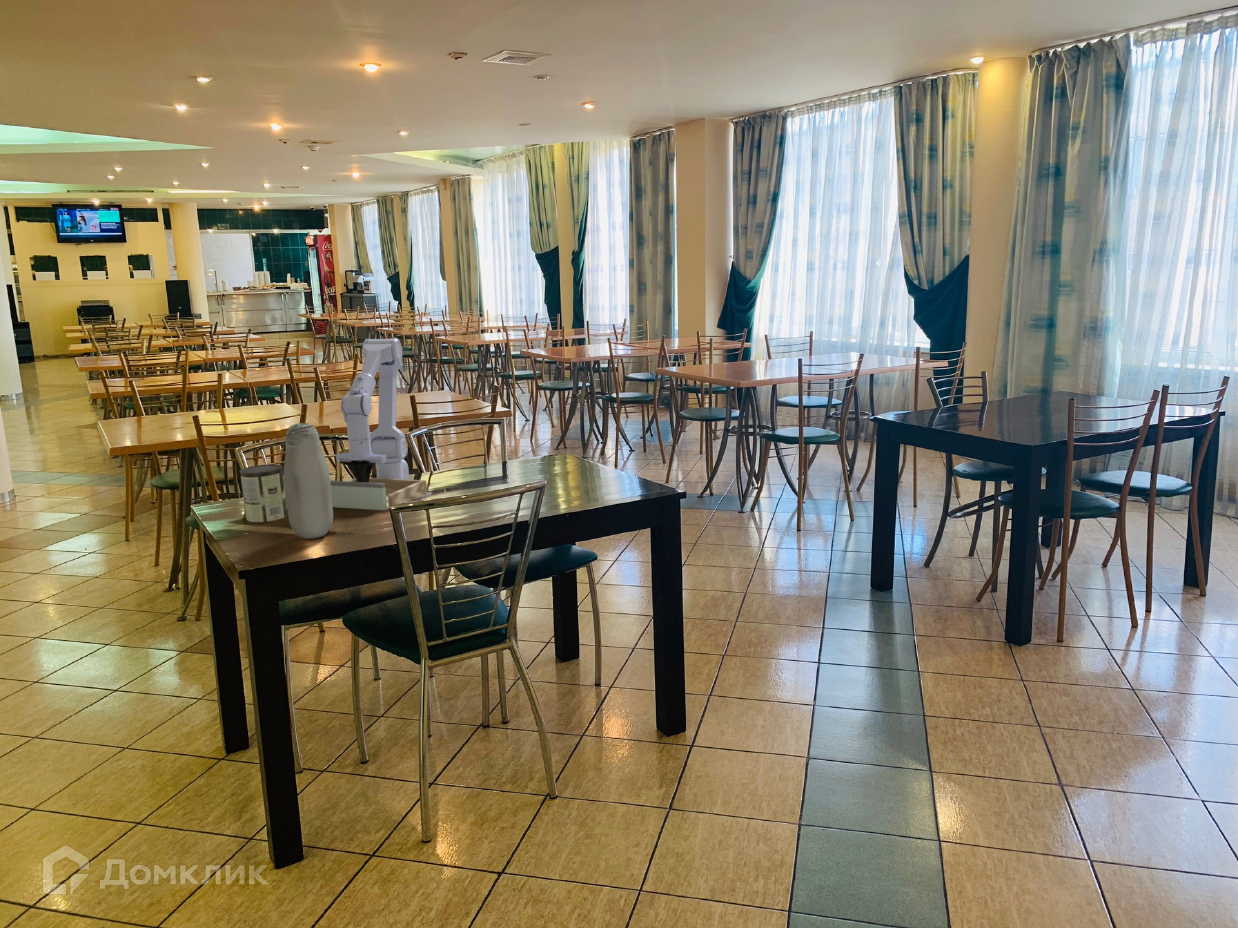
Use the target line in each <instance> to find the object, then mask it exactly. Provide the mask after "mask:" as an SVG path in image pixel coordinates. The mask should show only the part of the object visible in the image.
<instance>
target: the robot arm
mask: <svg viewBox="0 0 1238 928" xmlns="http://www.w3.org/2000/svg"><path fill="white" fill-rule="evenodd" d="M361 349H362V354H363V355H362V356H363V359H364V360H363V365H362V369H361V372H360V373H358V374H357V375H356V376H355V377H354V379H353V381H352V384H351V386H350V389H349V392H348V394H345V395H344V396H342V398H341V402H340V410H341V414H342V415H343V421H344V423H346V431H347V441H348V449H349V450H348V451H349V452H347V453H343V452H341V453H337V454H335V458H336V462H338V463H339V462H350V464H348V468H349V469H350V471H351V472H352V474H353V476H354V478H356V480H357V482H369V478H371V475H372V471H373V468H374V466H375V469H376V478H386V479H406V480H410V474H409V473H410V472H409V465H408V462H407V461H406V460H405V457H406V455H407V443H406V435H405V433H404V432H403V431H402V430H401V429H399V428H398V427H396V425H397V422H396V421H397V384H398V383H397V378H398V377H397V376H398V370H400V369H401V368H402V367H403V366H402V364H403V347H402V343H401V341H400V339H398V338H397V337H395V338H371V339H370V338H365V340H364V341H363V343H362V348H361ZM377 373H378V375H379V376H378V377H379V379H378V420H377V421H378V423H377V424H378V425H377V426H378V427H377V428H375V429H374V430H373V431H372V432H370V431H371V430H370V419H369V415H370V413H371V412H372V401H373V399H372V395H373V394H374V393H373V392H374V390H375V388H376V384H377V383H376V379H375V377H376V375H377Z"/></svg>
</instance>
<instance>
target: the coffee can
mask: <svg viewBox="0 0 1238 928" xmlns="http://www.w3.org/2000/svg"><path fill="white" fill-rule="evenodd" d="M283 470H284V467H283V465H280V464H277V463H276V464H273V463H272V464H271V463H270V464H258V465H253V466H252V465H251V466H247V467H243V468H242V469H240V470H239V474H240V480H241V481H240V482H241V489H242V496H243V503H244V510H245V518H246V520H247V521H248V522H251V523H266V522H273V521H278V520H280V519H284V518H285V517H288V508H287V500H286V494H285V486H284V472H283ZM247 525H248V526H249V527H262V525H261V524H247Z"/></svg>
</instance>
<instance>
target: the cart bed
mask: <svg viewBox="0 0 1238 928" xmlns="http://www.w3.org/2000/svg"><path fill="white" fill-rule="evenodd" d="M348 481H349V482H357V480H356V478H355V477H354V478H352V479H349V480H348ZM369 483H385V490H386V501H387V510H390V509H389V507H391V506H394V505H399V504H402V503H406V504H407V503H411V502H412V501H414V500H416V499H419V498H421V497H423V496H426V495H427V494H428V489H427V488H428V487H427V480H426V479H425V480H423V479H422V480H421V479H409V480H406V479H386V478H377V477H370V478H369Z"/></svg>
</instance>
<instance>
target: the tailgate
mask: <svg viewBox="0 0 1238 928" xmlns="http://www.w3.org/2000/svg"><path fill="white" fill-rule="evenodd" d="M330 483H331V496H332V507H333V508H340V509H341V508H342V509H343V508H344V509H357V510H374V511H386V510H388V509H387V501H386V490H385V483H369V482H349V480H347V481H345V480H330Z"/></svg>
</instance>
